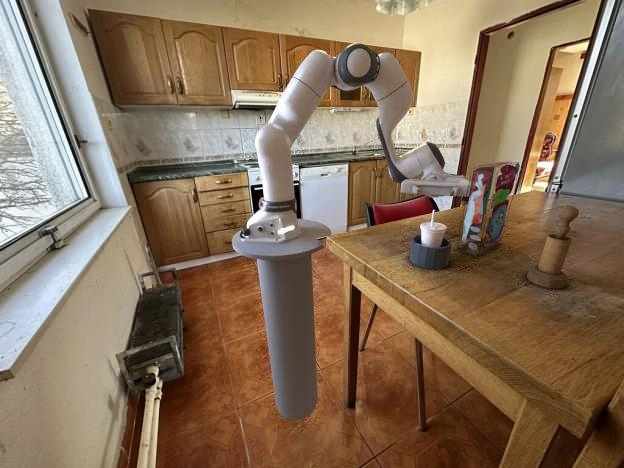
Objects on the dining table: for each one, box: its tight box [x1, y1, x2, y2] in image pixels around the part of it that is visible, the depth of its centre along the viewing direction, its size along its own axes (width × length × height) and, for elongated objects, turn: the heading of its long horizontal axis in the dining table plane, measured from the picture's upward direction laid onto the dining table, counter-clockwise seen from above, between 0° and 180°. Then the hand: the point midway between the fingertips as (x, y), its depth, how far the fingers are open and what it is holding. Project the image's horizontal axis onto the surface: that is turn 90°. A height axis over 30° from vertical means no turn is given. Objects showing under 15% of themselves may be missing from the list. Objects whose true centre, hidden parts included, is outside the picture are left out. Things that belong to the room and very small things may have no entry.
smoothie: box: [419, 209, 448, 248], centre depth 68 cm, size 6×6×14 cm
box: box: [456, 161, 521, 258], centre depth 76 cm, size 25×6×24 cm, turn 125°
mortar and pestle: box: [526, 205, 580, 290], centre depth 56 cm, size 7×6×18 cm
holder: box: [409, 233, 453, 270], centre depth 70 cm, size 10×10×6 cm
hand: (435, 192), depth 75 cm, fingers open, 8 cm apart
